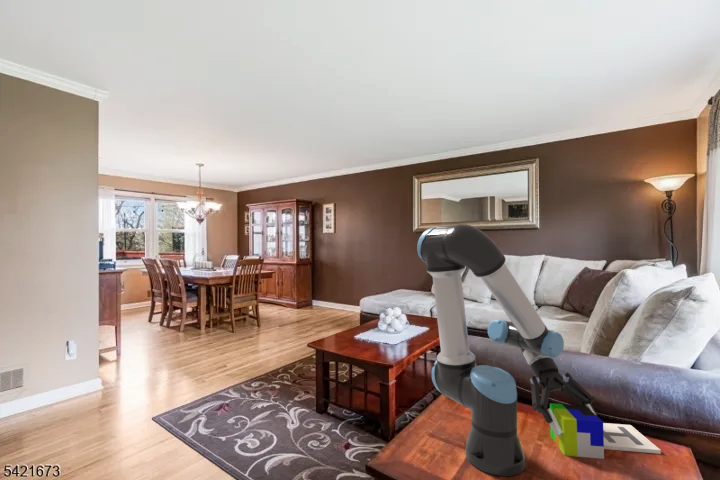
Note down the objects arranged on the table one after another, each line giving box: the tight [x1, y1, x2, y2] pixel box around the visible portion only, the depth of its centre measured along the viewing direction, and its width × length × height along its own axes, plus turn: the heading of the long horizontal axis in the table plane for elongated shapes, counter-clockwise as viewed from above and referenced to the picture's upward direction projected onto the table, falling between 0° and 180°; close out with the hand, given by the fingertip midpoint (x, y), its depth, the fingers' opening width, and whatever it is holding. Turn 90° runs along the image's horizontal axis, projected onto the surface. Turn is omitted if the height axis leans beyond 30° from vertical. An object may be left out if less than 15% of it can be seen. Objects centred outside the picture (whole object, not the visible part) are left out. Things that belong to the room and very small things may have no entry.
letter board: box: [603, 422, 662, 455], centre depth 104 cm, size 15×14×1 cm
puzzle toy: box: [549, 402, 605, 460], centre depth 99 cm, size 10×10×10 cm
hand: (579, 431), depth 98 cm, fingers open, 13 cm apart
